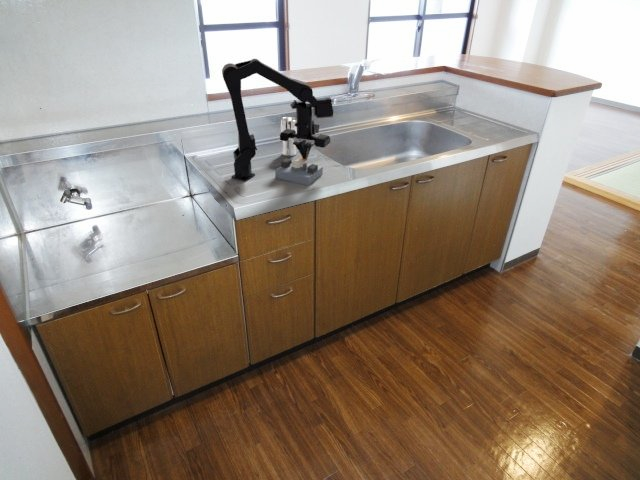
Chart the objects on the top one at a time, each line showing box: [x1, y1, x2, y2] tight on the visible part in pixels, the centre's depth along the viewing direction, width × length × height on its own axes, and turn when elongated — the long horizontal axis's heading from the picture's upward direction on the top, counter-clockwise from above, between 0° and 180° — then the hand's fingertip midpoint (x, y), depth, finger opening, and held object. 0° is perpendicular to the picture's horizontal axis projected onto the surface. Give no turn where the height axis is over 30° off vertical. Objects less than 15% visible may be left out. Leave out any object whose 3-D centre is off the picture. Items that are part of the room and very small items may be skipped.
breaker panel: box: [274, 159, 324, 186], centre depth 160 cm, size 12×14×5 cm
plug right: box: [307, 163, 319, 174], centre depth 158 cm, size 4×2×2 cm, turn 154°
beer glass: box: [280, 116, 297, 157], centre depth 178 cm, size 7×7×15 cm
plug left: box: [280, 158, 292, 168], centre depth 162 cm, size 4×2×2 cm, turn 154°
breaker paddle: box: [290, 157, 309, 168], centre depth 159 cm, size 8×4×1 cm, turn 154°
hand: (305, 159), depth 163 cm, fingers closed, pressing on breaker paddle
